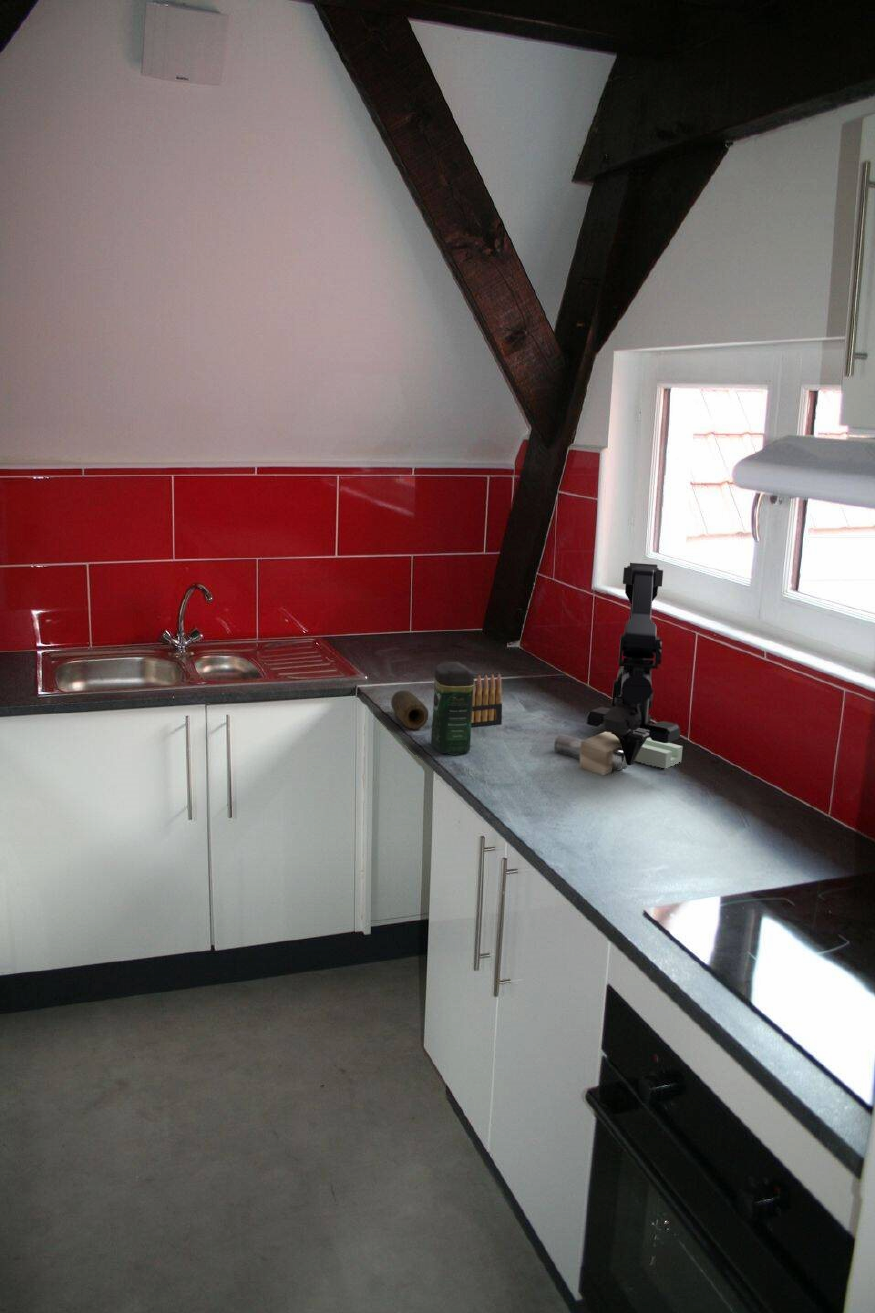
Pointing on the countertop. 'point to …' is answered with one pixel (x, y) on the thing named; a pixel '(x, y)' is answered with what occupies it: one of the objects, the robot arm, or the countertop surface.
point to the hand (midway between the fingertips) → (629, 764)
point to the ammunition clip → (487, 703)
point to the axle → (573, 749)
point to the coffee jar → (452, 708)
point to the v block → (659, 754)
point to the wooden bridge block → (599, 753)
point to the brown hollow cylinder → (409, 709)
